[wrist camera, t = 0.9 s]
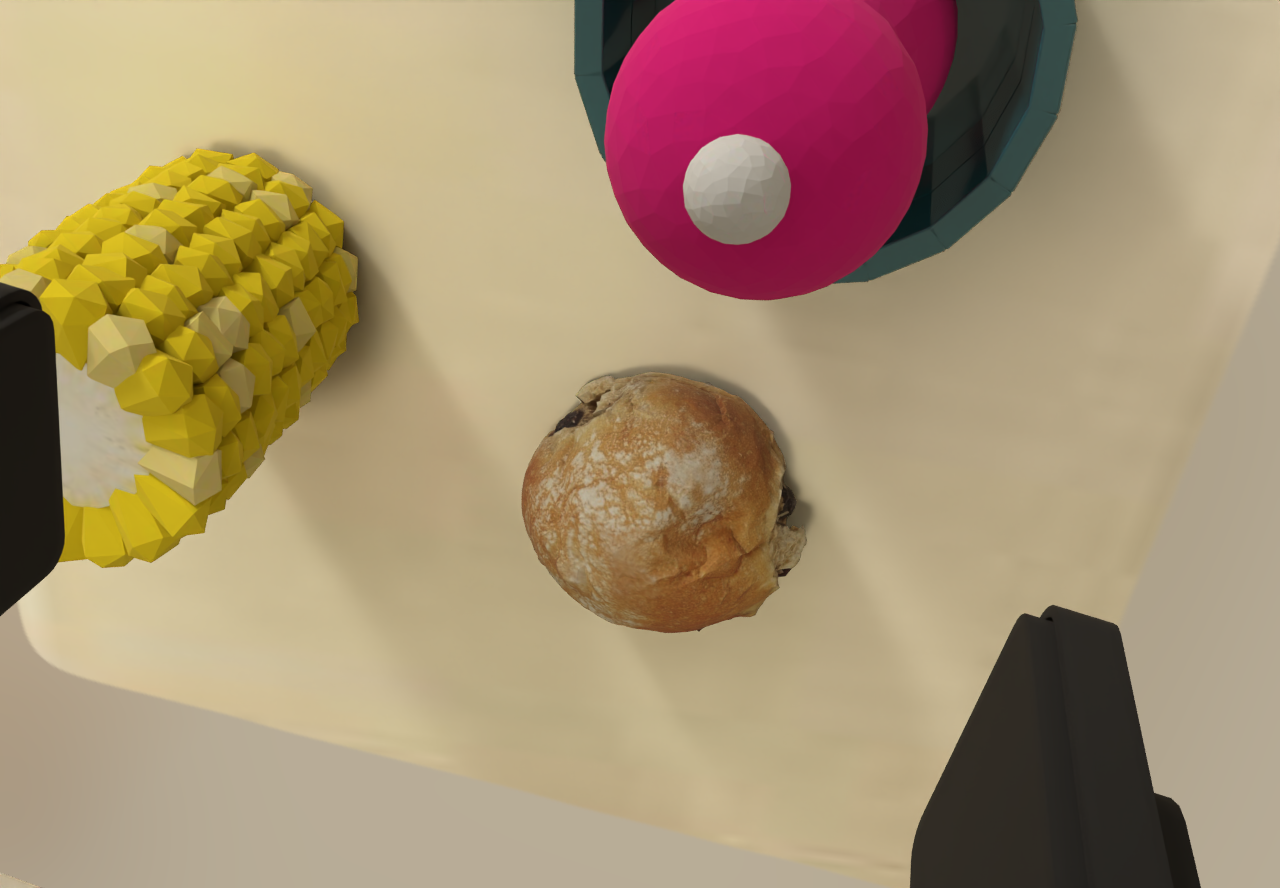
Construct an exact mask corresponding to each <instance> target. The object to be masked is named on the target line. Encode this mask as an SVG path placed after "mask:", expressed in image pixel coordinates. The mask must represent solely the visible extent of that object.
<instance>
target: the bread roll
mask: <svg viewBox="0 0 1280 888" xmlns="http://www.w3.org/2000/svg"><path fill="white" fill-rule="evenodd" d="M576 396H577V397H578V398H579V399H580V400H581V401H582V403H581V404H580V405H579V406H577V407H576V408H575V409H574V410H573V411H572V412H571V413H569V414H568V415H567V416H566V417H565V418H564V419H562V420H561V421H560V422H559V423H558V424H557V426H556V429H555V430H553V431H551V432H549V434H548V435H547V436H546V437H545V438H544V439H543V440H542V442H541V444H540V445H539V447H538V448H537V450H536V451H535V453H534V455H533V457H532V459H531V461H530V463H529V466H528V468H527V471H526V473H525V477H524V482H523V488H522V514H523V518H524V522H525V527H526V530H527V533H528V535H529V537H530V540H531V542H532V544H533V547H534V550H535V552H536V553H537V555H538V559H539V560H540V562H541V563H542V564H543V565H545V566H546V568H547V570H548V571H549V573H550V574H551V575H552V577H553V578H554V579H555V580H556V582H557V583H558V584H559V585H560V586H561V588H562V589H564V590H565V591H566V592H567V593H568V594H569V595H570V596H571V597H572V598H573V599H575V600H576V601H577V602H578V603H580V604H581V605H582V606H583V607H584V608H586V609H588V610H590V611H592V612H593V613H595V614H596V615H597V616H599V617H601V618H603V619H605V620H607V621H608V622H611V623H614V624H617V625H624V626H627V627H631V628H636V629H645V630H652V631H658V632H664V633H677V632H688V631H694V630H698V631H700V630H701V629H702V628H704V627H706V626H709V625H712V624H716V623H718V622H721V621H724V620H730V619H732V618H734V617H739V616H741V617H751V616H754V615H755V614H756V612H757V610H758V609H759V607H760V606H761V605H762V604H763V602H764V601H765V599H766V598H767V597H768V596H769V595H771V594H772V593H773V592H774V591H776V590H777V589H778V588H779V585H778V577H782V576H786V575H787V573H788V572H789V571H790V570H791V568H793V567H795V565H796V564H797V563H798V562H799V560H800V557H801V552H802V550H803V548H804V546H805V545H806V541H807V539H806V537H805V529H804V527H803V525H802V526H801V528H800V529H799V528H797V527H796V526H794V525H793V526H792V527H791V528H790V529H789V528H788V527H787V526H786V520H787V517H788V516H789V515H791V514H792V512H793V510H794V508H795V506H796V503H797V501H796V499H795V497H794V494H793V493H792V491H791V490H790V489H789V488H788V487H787V486H786V485H785V484H784V480H783V475H784V472H785V469H786V464H785V460H784V457H783V454H782V452H781V450H780V448H779V447H778V445H777V443H776V441H775V439H774V432H773V431H771V430H769V429H768V427H767V426H766V424H765V423H764V422H763V421H762V420H761V419H760V417H759V416H758V415H757V414H756V412H755V411H754V410H753V409H752V408H751V407H750V406H749V405H748V404H746V403H745V402H744V401H743V400H742V399H741V398H740V397H739V396H737V395H731V394H729V393H727V392H726V391H724V390H721V389H719V388H716V387H714V386H713V385H712V384H710V383H702V382H698V381H693V380H689V379H687V378H684V377H680V376H676V375H672V374H666V373H658V372H647V373H642V374H639V375H635V376H632V377H626V378H619V379H614V378H613V377H611V376H610V375H608V376H604V377H602V378H599V379H597V380H594V381H591V382H589V383H588V384H586V385H584V386H583V388H582V389H581V390H580V391H579V392H578V393H577V394H576Z"/></svg>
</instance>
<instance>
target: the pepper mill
mask: <svg viewBox="0 0 1280 888" xmlns="http://www.w3.org/2000/svg"><path fill="white" fill-rule="evenodd" d="M957 32H958V8H957V3H956V0H675V1H674V2H673V3H671V4H670V5H669V6H667V7H666V8H665V9H663V10H662V11H661V12H659V13H658V14H657V15H656V17H655V18H654V19H653V20H652V21H651V22H650V24H649V25H648V26H647V27H646V28H645V29H644V31H643V32H642V33H641V34H640V35H639V37H638V38H637V40H636V41H635V43H634V44H633V46H632V47H631V49H630V51H629V52H628V54H627V55H626V57H625V58H624V60H623V63H622V65H621V67H620V70H619V72H618V74H617V77H616V79H615V81H614V84H613V88H612V92H611V96H610V100H609V105H608V109H607V117H606V126H605V136H604V146H605V155H606V165H607V171H608V174H609V178H610V181H611V185H612V188H613V192H614V195H615V198H616V200H617V202H618V204H619V207H620V209H621V211H622V213H623V215H624V218H625V220H626V222H627V224H628V225H629V226H630V228H631V229H632V231H633V232H634V233H635V235H636V236H637V238H638V239H639V240H640V242H641V243H642V244H643V246H644V247H645V248H646V249H647V250H648V251H649V252H650V253H651V254H652V255H653V256H654V257H655V258H656V259H657V260H658V261H659V262H660V263H661V264H663V265H664V266H665V267H667V268H668V269H669V270H671V271H672V272H673V273H675V274H676V275H677V276H679V277H680V278H682V279H684V280H686V281H688V282H691V283H693V284H695V285H697V286H699V287H701V288H703V289H705V290H707V291H709V292H712V293H717V294H721V295H725V296H729V297H734V298H738V299H747V300H775V299H782V298H787V297H793V296H798V295H803V294H807V293H810V292H813V291H816V290H818V289H821V288H824V287H827V286H829V285H830V284H832V283H834V282H836V281H838V280H839V279H841V278H843V277H845V276H846V275H848V274H850V273H852V272H853V271H855V270H856V269H857V268H859V267H860V266H861V265H862V264H864V263H865V262H866V261H867V260H869V259H870V258H871V257H872V256H874V255H875V254H876V253H877V251H878V250H879V249H880V248H881V247H882V246H883V245H884V243H885V242H886V241H887V240H888V239H889V238H890V237H891V235H892V234H893V233H894V232H895V231H896V229H897V227H898V226H899V224H900V222H901V221H902V219H903V217H904V216H905V214H906V212H907V211H908V209H909V207H910V205H911V202H912V200H913V197H914V195H915V192H916V190H917V187H918V184H919V181H920V177H921V173H922V169H923V166H924V162H925V158H926V150H927V135H928V124H927V114H928V113H929V112H930V110H931V109H932V108H933V106H934V104H935V102H936V100H937V98H938V96H939V94H940V93H941V91H942V89H943V87H944V84H945V82H946V80H947V77H948V74H949V71H950V68H951V65H952V62H953V59H954V53H955V48H956V42H957Z"/></svg>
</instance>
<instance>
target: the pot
mask: <svg viewBox="0 0 1280 888" xmlns="http://www.w3.org/2000/svg"><path fill="white" fill-rule="evenodd" d="M674 1H675V0H575V11H574V74H575V80H576V83H577V86H578V89H579V92H580V95H581V98H582V101H583V104H584V107H585V110H586V113H587V116H588V119H589V122H590V125H591V128H592V131H593V134H594V137H595V140H596V143H597V146H598V150H599V153H600V154H601V156H602V158H603V159H604V161H605V162H606V155H605V146H604V136H605V126H606V117H607V109H608V105H609V100H610V96H611V92H612V88H613V84H614V81H615V79H616V77H617V74H618V72H619V70H620V67H621V65H622V63H623V60H624V58H625V57H626V55H627V54H628V52H629V51H630V49H631V47H632V46H633V44H634V43H635V41H636V40H637V38H638V37H639V35H640V34H641V33H642V32H643V31H644V29H645V28H646V27H647V26H648V25H649V24H650V22H651V21H652V20H653V19H654V18H655V17H656V15H657V14H658V13H659V12H661V11H662V10H663V9H665V8H666V7H667V6H669V5H670V4H671V3H673V2H674ZM956 3H957V8H958V32H957V42H956V48H955V53H954V59H953V62H952V65H951V68H950V71H949V74H948V77H947V80H946V82H945V84H944V87H943V89H942V91H941V93H940V94H939V96H938V98H937V100H936V102H935V104H934V106H933V108H932V109H931V110H930V112H929V113H928V114H927V124H928V135H927V150H926V158H925V162H924V166H923V169H922V173H921V177H920V181H919V184H918V187H917V190H916V192H915V195H914V197H913V200H912V202H911V205H910V207H909V209H908V211H907V212H906V214H905V216H904V217H903V219H902V221H901V222H900V224H899V226H898V227H897V229H896V231H895V232H894V233H893V234H892V235H891V237H890V238H889V239H888V240H887V241H886V242H885V243H884V245H883V246H882V247H881V248H880V249H879V250H878V251H877V253H876V254H875V255H874V256H872V257H871V258H870V259H869V260H867V261H866V262H865V263H864V264H862V265H861V266H860V267H859V268H857V269H856V270H855V271H853V272H852V273H850V274H848V275H846V276H845V277H843V278H841V279H839V280H838V281H836V282H834V283H852V282H868V281H869V280H874V279H876V278H879V277H881V276H884V275H886V274H889V273H891V272H894V271H896V270H899V269H901V268H904V267H906V266H909V265H911V264H914V263H916V262H919V261H921V260H924V259H926V258H929V257H931V256H934V255H936V254H939V253H941V252H944V251H945V249H949V248H950V247H951V246H952V245H953V244H955V243H956V242H957V241H958V240H959V239H960V238H962V237H963V236H964V235H965V234H966V233H967V232H969V231H970V230H971V229H972V228H973V227H975V226H976V225H977V224H978V223H979V222H980V221H982V220H983V219H984V218H985V217H986V216H987V215H989V214H990V213H991V212H992V211H993V210H994V209H996V208H997V207H998V206H999V205H1000V204H1001V203H1003V202H1004V201H1005V200H1006V199H1007V198H1008V197H1010V196H1011V194H1012V193H1011V192H1013V191H1014V190H1015V189H1016V187H1017V186H1018V184H1019V182H1020V180H1021V179H1022V177H1023V175H1024V174H1025V172H1026V170H1027V169H1028V167H1029V165H1030V164H1031V162H1032V160H1033V159H1034V157H1035V155H1036V154H1037V152H1038V150H1039V149H1040V147H1041V145H1042V143H1043V142H1044V140H1045V138H1046V137H1047V135H1048V133H1049V132H1050V130H1051V128H1052V127H1053V125H1054V123H1055V122H1056V120H1057V117H1058V115H1057V114H1059V112H1060V110H1061V105H1062V100H1063V95H1064V90H1065V85H1066V80H1067V75H1068V70H1069V65H1070V60H1071V55H1072V50H1073V45H1074V40H1075V35H1076V30H1077V22H1078V18H1077V11H1076V5H1075V0H956ZM834 283H832V284H834Z"/></svg>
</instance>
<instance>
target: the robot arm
mask: <svg viewBox="0 0 1280 888" xmlns="http://www.w3.org/2000/svg"><path fill="white" fill-rule="evenodd" d="M64 544H65V525H64V505H63V486H62V467H61V447H60V428H59V408H58V389H57V369H56V350H55V330H54V325H53V321H52V319H51V317H50V315H48V314H47V313H46V312H44V311H42V306H41V304H40V302H39V300H38V298H37V296H35V295H34V294H33V293H31V292H30V291H28V290H24V289H21V288H18V287H15V286H11V285H8V284H5V283H2V282H0V616H1V615H2V614H3V613H4V612H5V611H6V610H8V609H9V608H10V607H11V606H12V605H14V604H15V603H16V602H17V601H18V600H20V599H21V598H22V597H23V596H24V595H25V594H27V593H28V592H29V591H30V590H31V589H32V588H34V587H35V586H36V585H37V584H38V583H39V582H41V581H42V580H43V579H44V578H45V577H46V576H47V575H48V574H49V573H50V572H51V571H52V570H53V569H54V567H55V566H56V564H57V563H58V561H59V559H60V557H61V554H62V552H63V548H64ZM0 888H41V887H38V886H36V885H33V884H30V883H27V882H24V881H22V880H19V879H16V878H13V877H10V876H7V875H5V874H2V873H0ZM910 888H1201V886H1200V882H1199V878H1198V874H1197V869H1196V865H1195V860H1194V856H1193V852H1192V848H1191V844H1190V839H1189V835H1188V831H1187V826H1186V822H1185V819H1184V817H1183V814H1182V812H1181V809H1180V807H1179V805H1177V803H1176V802H1174V801H1173V800H1172V799H1171V798H1169V797H1165V796H1162V795H1159V794H1156V793H1154V791H1153V786H1152V781H1151V777H1150V772H1149V767H1148V762H1147V757H1146V753H1145V748H1144V743H1143V738H1142V734H1141V729H1140V724H1139V719H1138V714H1137V709H1136V705H1135V700H1134V695H1133V690H1132V685H1131V681H1130V676H1129V671H1128V667H1127V662H1126V657H1125V652H1124V647H1123V642H1122V638H1121V633H1120V631H1119V628H1118V626H1117V625H1115V624H1113V623H1110V622H1107V621H1104V620H1101V619H1097V618H1094V617H1091V616H1088V615H1084V614H1081V613H1078V612H1075V611H1071V610H1068V609H1065V608H1062V607H1058V606H1055V605H1052V606H1049V607H1048V608H1047V609H1046V610H1045V611H1044V612H1043V613H1042V615H1041V617H1040V618H1038V617H1035V616H1032V615H1029V614H1022V615H1021V616H1020V617H1019V618H1018V620H1017V621H1016V623H1015V625H1014V627H1013V629H1012V631H1011V633H1010V635H1009V637H1008V639H1007V641H1006V643H1005V645H1004V647H1003V649H1002V651H1001V654H1000V656H999V658H998V660H997V662H996V664H995V666H994V668H993V670H992V672H991V674H990V676H989V678H988V680H987V683H986V685H985V687H984V689H983V691H982V693H981V695H980V697H979V699H978V701H977V703H976V705H975V707H974V709H973V712H972V714H971V716H970V718H969V720H968V722H967V724H966V726H965V728H964V730H963V732H962V734H961V736H960V738H959V741H958V743H957V745H956V747H955V749H954V751H953V753H952V755H951V757H950V759H949V761H948V763H947V765H946V767H945V770H944V772H943V774H942V776H941V778H940V780H939V782H938V784H937V786H936V788H935V790H934V792H933V794H932V796H931V799H930V801H929V803H928V805H927V807H926V809H925V811H924V813H923V815H922V817H921V820H920V822H919V825H918V828H917V831H916V835H915V839H914V843H913V849H912V856H911V877H910Z"/></svg>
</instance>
